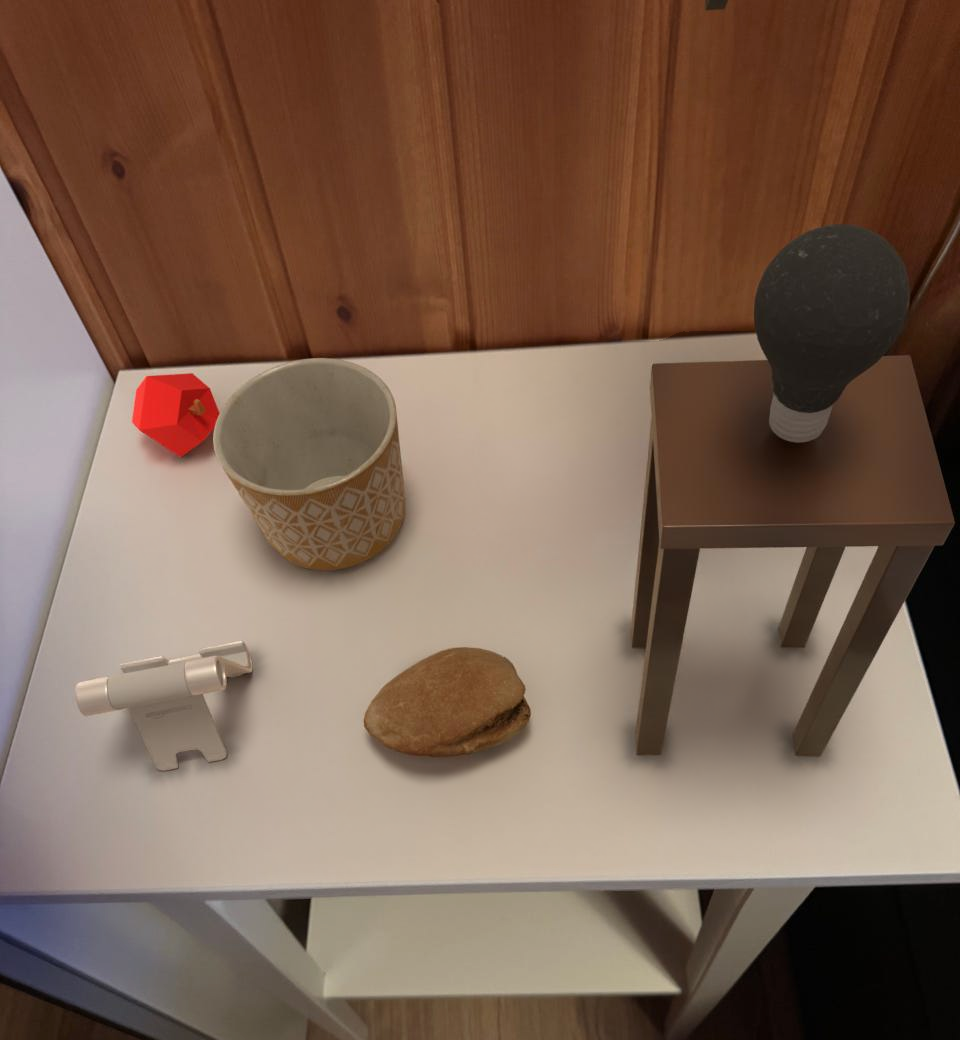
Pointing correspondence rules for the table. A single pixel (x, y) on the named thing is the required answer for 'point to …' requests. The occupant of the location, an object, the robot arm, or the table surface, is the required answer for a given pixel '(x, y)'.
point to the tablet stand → (169, 699)
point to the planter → (316, 460)
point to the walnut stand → (783, 517)
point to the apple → (175, 411)
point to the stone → (450, 705)
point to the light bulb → (826, 320)
